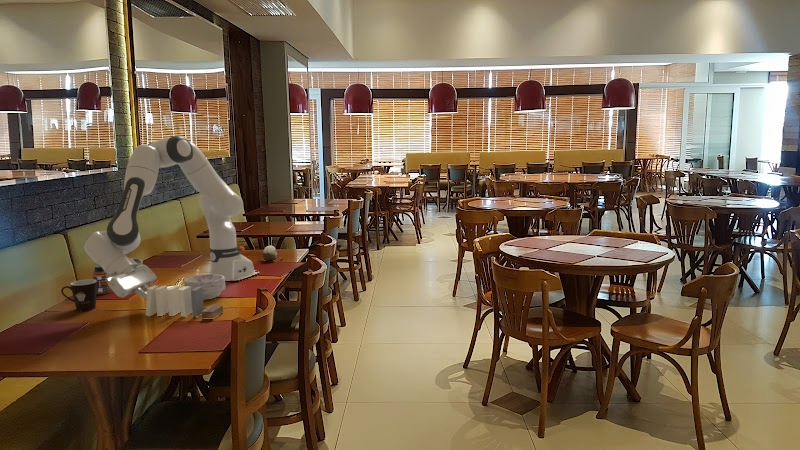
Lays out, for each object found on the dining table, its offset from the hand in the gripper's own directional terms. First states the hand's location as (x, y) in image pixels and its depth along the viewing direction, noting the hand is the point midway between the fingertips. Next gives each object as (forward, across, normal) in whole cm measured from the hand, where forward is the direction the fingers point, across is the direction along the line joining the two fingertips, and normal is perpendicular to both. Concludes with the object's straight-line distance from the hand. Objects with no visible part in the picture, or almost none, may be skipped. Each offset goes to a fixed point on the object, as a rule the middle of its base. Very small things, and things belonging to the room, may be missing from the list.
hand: (149, 297), depth 213 cm
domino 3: (+11, 0, -2) cm, 11 cm away
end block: (+21, 0, -12) cm, 25 cm away
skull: (+12, +90, -3) cm, 91 cm away
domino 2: (+8, 0, +1) cm, 8 cm away
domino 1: (+5, 0, +4) cm, 6 cm away
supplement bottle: (-21, +24, +30) cm, 44 cm away
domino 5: (+18, 0, -9) cm, 19 cm away
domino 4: (+14, 0, -5) cm, 15 cm away
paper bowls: (+12, +23, -2) cm, 26 cm away
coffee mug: (-16, +4, +26) cm, 31 cm away
